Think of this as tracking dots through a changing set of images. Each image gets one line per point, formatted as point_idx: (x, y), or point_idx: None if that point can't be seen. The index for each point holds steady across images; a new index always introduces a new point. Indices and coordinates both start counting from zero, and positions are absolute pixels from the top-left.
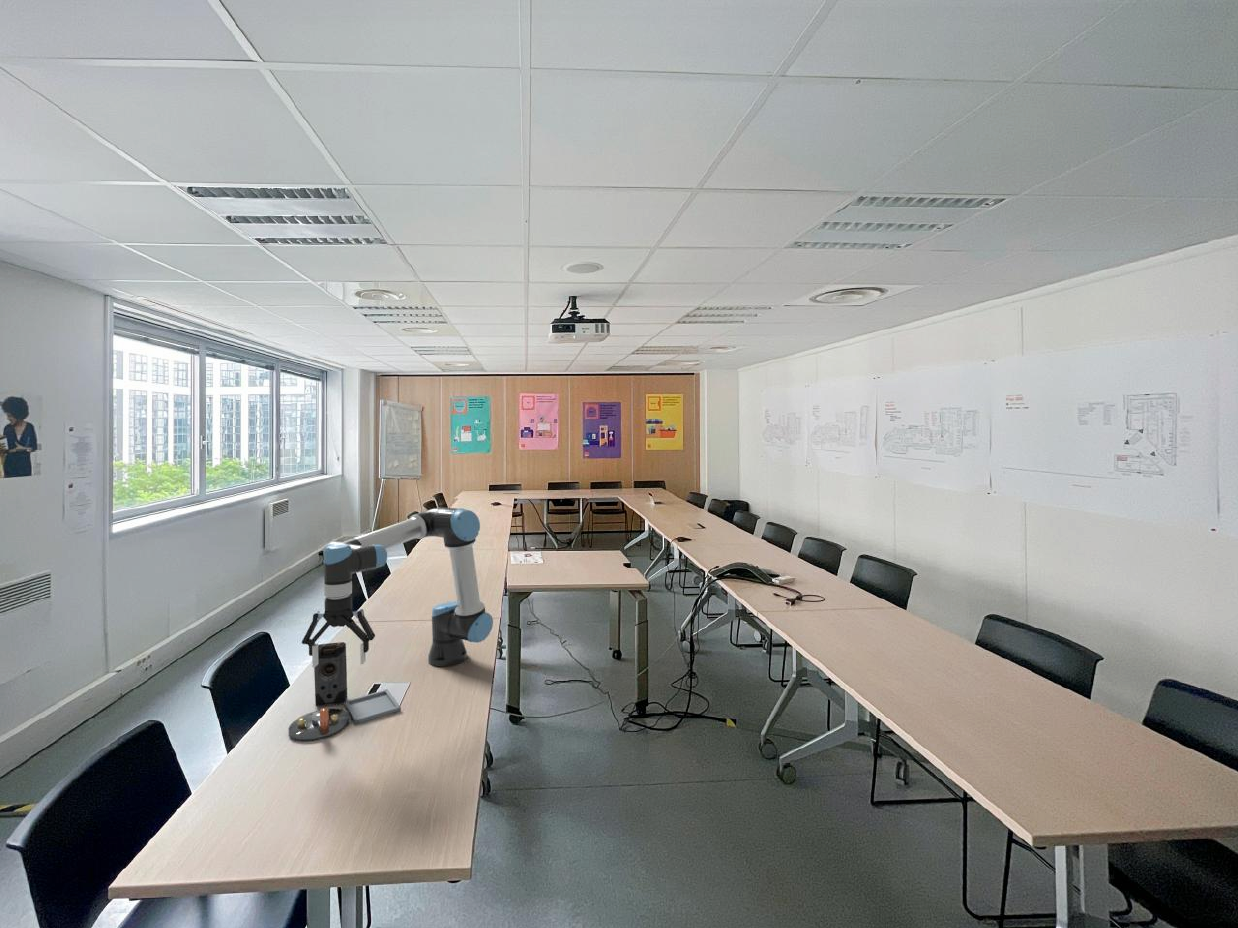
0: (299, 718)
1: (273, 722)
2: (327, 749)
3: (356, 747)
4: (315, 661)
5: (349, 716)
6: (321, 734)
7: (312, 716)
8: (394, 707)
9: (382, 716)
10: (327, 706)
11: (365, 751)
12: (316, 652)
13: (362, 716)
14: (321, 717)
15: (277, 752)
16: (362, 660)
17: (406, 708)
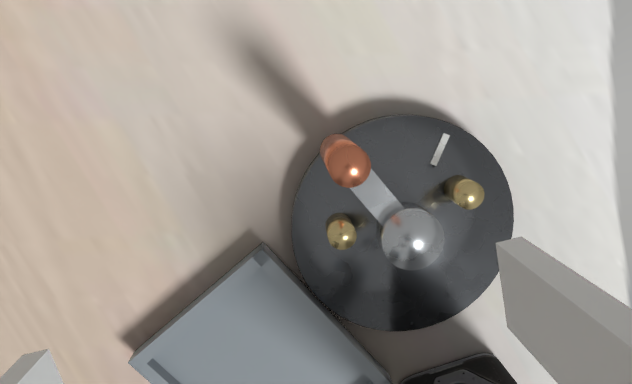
0: None
1: (596, 242)
2: (276, 67)
3: (164, 87)
4: (527, 276)
5: (305, 278)
6: None
7: (433, 217)
8: (152, 356)
9: (186, 308)
10: (451, 363)
11: (109, 60)
12: (594, 369)
13: (263, 297)
14: (348, 142)
15: (463, 37)
16: (3, 381)
17: (126, 376)
